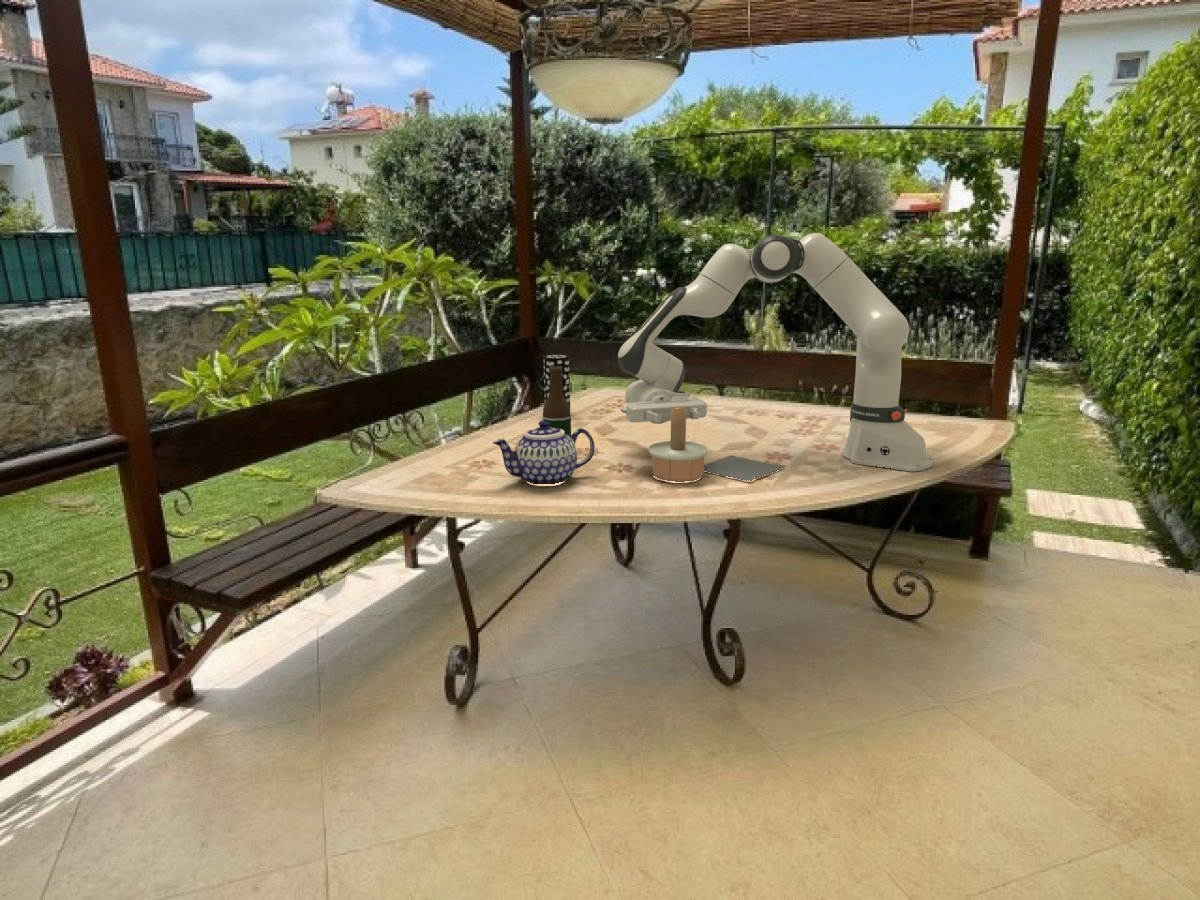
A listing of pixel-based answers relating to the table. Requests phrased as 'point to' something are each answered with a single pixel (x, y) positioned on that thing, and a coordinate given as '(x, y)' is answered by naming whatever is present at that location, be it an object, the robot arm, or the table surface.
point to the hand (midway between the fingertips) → (677, 417)
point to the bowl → (678, 469)
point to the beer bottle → (557, 403)
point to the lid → (678, 441)
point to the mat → (740, 468)
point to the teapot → (544, 454)
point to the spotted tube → (564, 363)
